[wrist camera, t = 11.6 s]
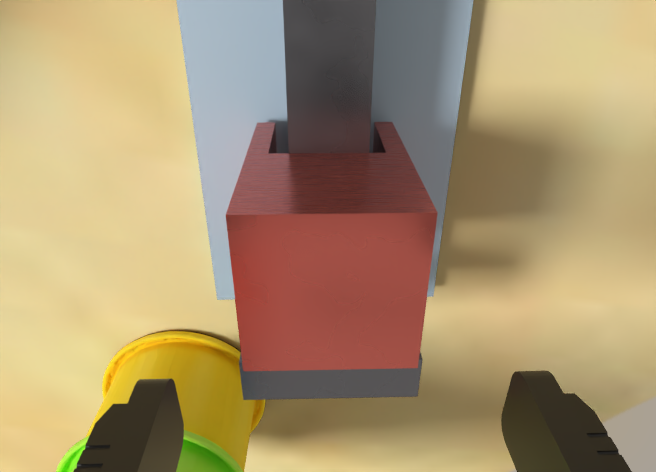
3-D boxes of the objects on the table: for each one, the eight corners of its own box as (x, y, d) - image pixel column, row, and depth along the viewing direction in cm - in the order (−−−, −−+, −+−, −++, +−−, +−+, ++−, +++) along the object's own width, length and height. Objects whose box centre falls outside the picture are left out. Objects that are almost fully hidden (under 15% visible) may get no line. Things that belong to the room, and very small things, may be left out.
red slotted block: (257, 122, 21) (225, 215, 14) (392, 121, 22) (437, 212, 14) (265, 239, 24) (243, 371, 17) (384, 238, 25) (417, 368, 17)
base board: (152, -230, 17) (143, -240, 16) (495, -225, 17) (505, -235, 16) (220, 288, 28) (217, 299, 27) (429, 286, 28) (433, 296, 27)
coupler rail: (223, -199, 16) (158, -317, 10) (428, -197, 17) (511, -311, 10) (261, 284, 26) (243, 400, 19) (389, 282, 26) (417, 396, 20)
